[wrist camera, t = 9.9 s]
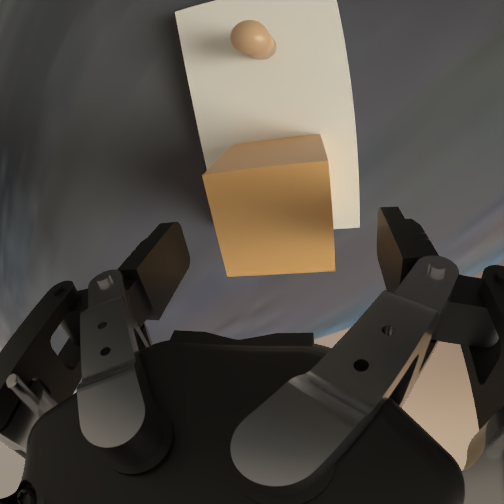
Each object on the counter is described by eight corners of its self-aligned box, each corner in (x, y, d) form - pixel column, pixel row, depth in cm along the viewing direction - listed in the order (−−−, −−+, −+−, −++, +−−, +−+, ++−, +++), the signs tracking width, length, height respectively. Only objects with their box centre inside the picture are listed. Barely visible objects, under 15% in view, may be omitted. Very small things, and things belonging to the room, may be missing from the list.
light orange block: (320, 134, 16) (328, 160, 11) (328, 214, 18) (335, 270, 13) (233, 144, 17) (202, 175, 12) (249, 220, 20) (227, 276, 15)
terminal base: (330, -9, 12) (340, -40, 8) (356, 217, 20) (370, 262, 15) (184, 15, 14) (142, -1, 10) (227, 226, 22) (205, 270, 17)
